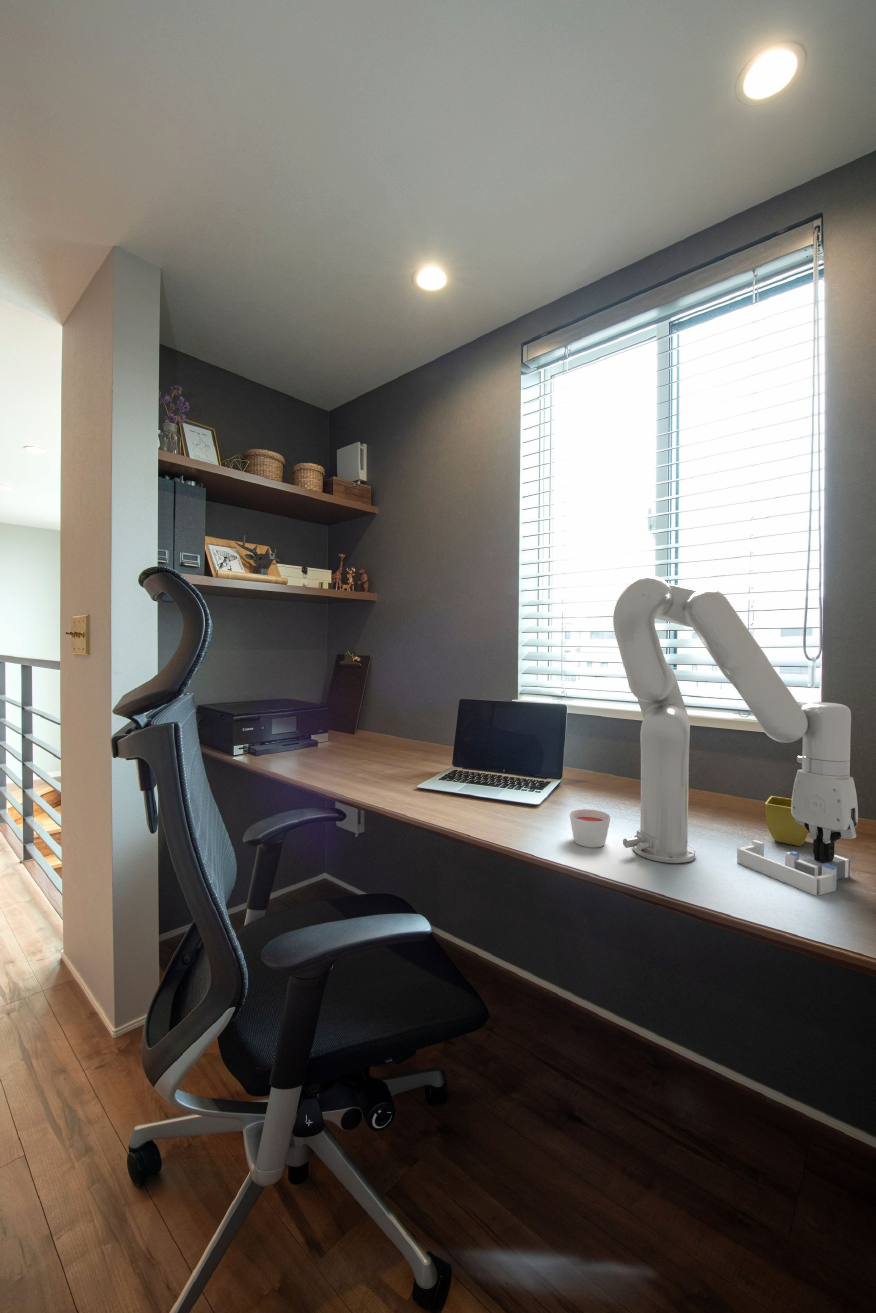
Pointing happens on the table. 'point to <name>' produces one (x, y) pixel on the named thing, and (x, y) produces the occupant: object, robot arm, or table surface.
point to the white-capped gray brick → (815, 866)
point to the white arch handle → (788, 870)
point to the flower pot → (783, 822)
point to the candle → (589, 827)
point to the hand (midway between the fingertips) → (823, 860)
